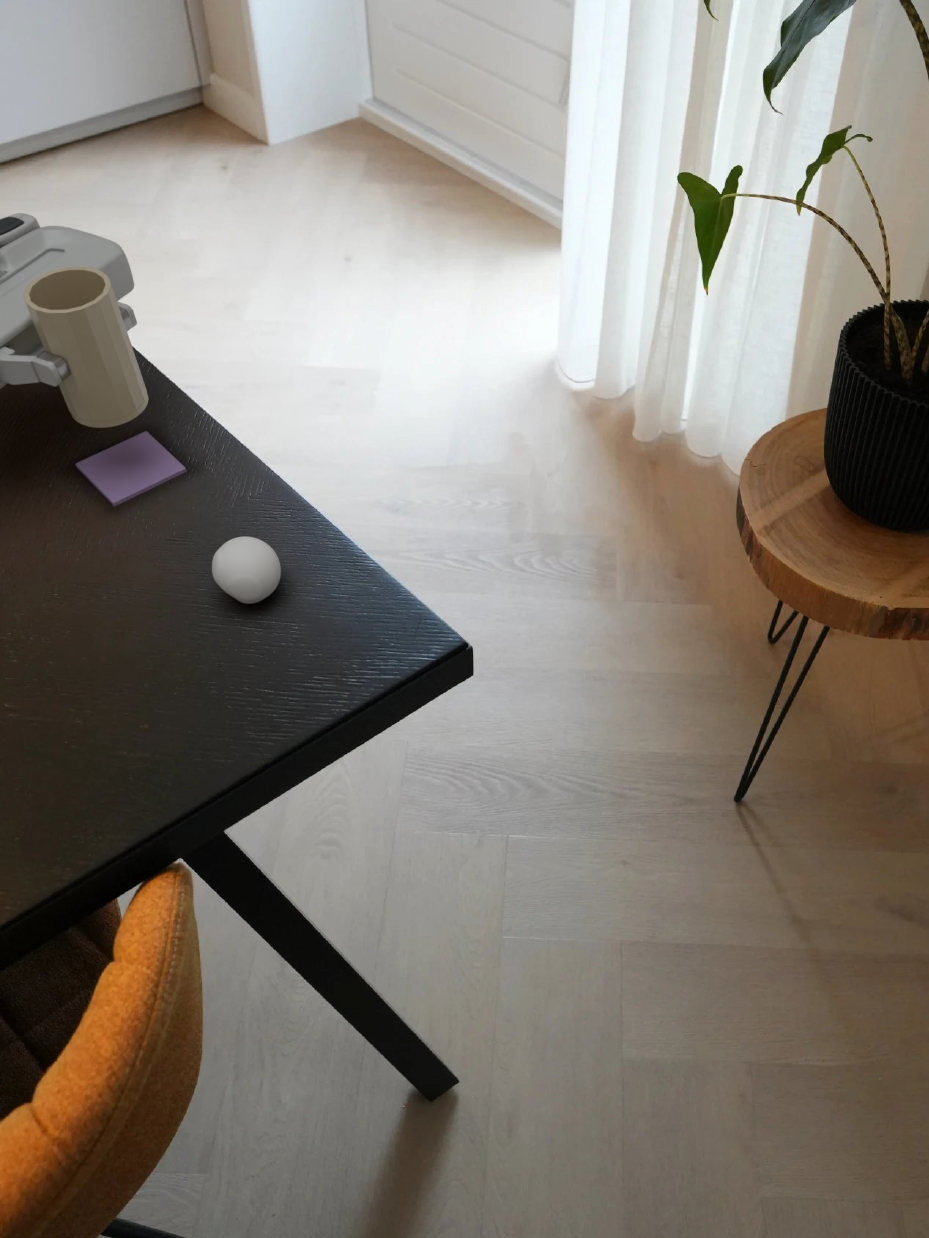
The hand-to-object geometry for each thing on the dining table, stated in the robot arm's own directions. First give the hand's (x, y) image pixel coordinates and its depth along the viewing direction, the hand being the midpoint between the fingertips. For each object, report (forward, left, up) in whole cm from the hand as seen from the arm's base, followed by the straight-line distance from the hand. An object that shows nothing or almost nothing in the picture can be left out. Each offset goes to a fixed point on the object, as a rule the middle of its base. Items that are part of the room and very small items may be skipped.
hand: (96, 346), depth 85 cm
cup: (-1, 0, -5) cm, 6 cm away
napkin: (-1, 0, -12) cm, 12 cm away
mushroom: (+11, -15, -12) cm, 22 cm away
